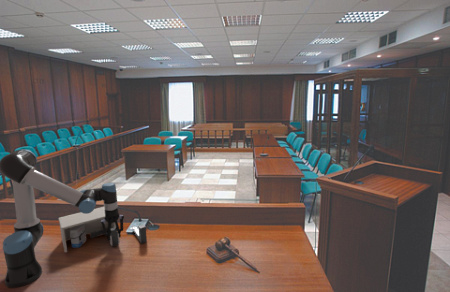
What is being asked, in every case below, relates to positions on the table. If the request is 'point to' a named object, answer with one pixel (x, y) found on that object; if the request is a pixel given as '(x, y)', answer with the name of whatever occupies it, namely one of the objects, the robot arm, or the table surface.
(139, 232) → the plain bar
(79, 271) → the table surface
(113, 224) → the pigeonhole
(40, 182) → the robot arm
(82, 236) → the ink box
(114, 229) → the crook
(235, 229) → the table surface
